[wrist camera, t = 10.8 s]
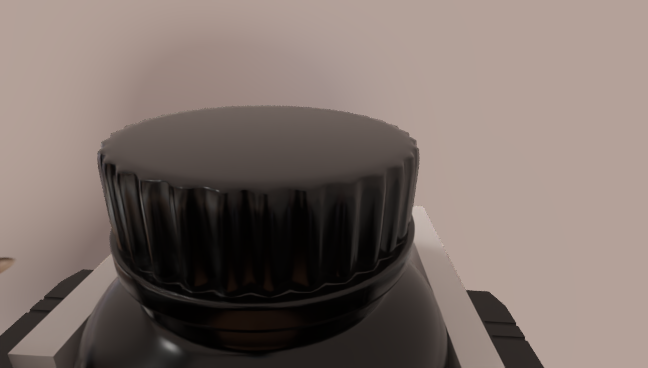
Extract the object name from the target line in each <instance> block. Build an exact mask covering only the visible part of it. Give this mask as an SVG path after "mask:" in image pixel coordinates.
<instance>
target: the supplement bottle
mask: <svg viewBox="0 0 648 368" xmlns="http://www.w3.org/2000/svg"><path fill="white" fill-rule="evenodd" d="M98 169H99V174H100V179H101V183H102V188H103V192H104V197H105V201H106V206H107V210H108V215H109V219H110V223H111V227H112V228H111V231H110V248H111V254H112V258H113V262H114V266H115V269H116V273H117V275H118V276H117V277H116V278H115V280H114V281H113V282H112V283H111V284H110V285H109V286H108V288H107V289H106V291H105V292H104V294H103V295H102V296H101V298H100V299H99V301H98V302H97V304H96V306H95V308H94V310H93V311H92V313H91V315H90V317H89V319H88V321H87V323H86V326H85V328H84V330H83V333H82V335H81V338H80V341H79V344H78V348H77V351H76V355H75V359H74V362H73V368H449V345H448V338H447V331H446V327H445V324H444V320H443V317H442V313H441V311H440V308H439V306H438V303H437V301H436V298H435V296H434V294H433V292H432V290H431V289H430V287H429V285H428V283H427V281H426V280H425V278H424V277H423V275H422V274H421V273H420V271H419V270H418V268H417V267H416V266H415V265H414V264H413V263H412V262H411V260H410V257H411V252H412V247H413V242H414V236H415V223H414V219H413V216H412V210H413V203H414V196H415V189H416V182H417V176H418V169H419V149H418V148H417V144H416V140H415V139H413V138H411V137H409V133H408V132H405V131H403V130H401V129H399V128H398V127H397V126H395V125H392V124H388V123H386V122H384V121H382V120H378V119H374V118H370V117H368V116H364V115H358V114H353V113H349V112H343V111H336V110H330V109H320V108H311V107H296V106H231V107H218V108H205V109H199V110H192V111H183V112H178V113H173V114H167V115H162V116H159V117H156V118H151V119H146V120H143V121H140V122H139V123H135V124H131V125H128V126H125V127H124V129H122V130H119V131H116V132H114V133H111V137H110V138H108V139H106V140H104V141H103V142H101V149H100V150H99V151H98Z"/></svg>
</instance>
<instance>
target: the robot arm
mask: <svg viewBox="0 0 648 368" xmlns="http://www.w3.org/2000/svg"><path fill="white" fill-rule="evenodd" d="M412 216H413V219H414V223H415V236H414V242H413V247H412V252H411V257H410V260H411V262H412V263H413V264H414V265H415V266H416V267H417V268H418V270H419V271H420V273H421V274H422V275H423V277H424V278H425V280H426V281H427V283H428V285H429V287H430V289H431V290H432V292H433V294H434V296H435V298H436V301H437V303H438V306H439V308H440V311H441V313H442V317H443V320H444V324H445V327H446V331H447V338H448V345H449V368H544V367H543V365H542V364H541V362H540V361H539V359H538V357H537V356H536V354H535V352H534V351H533V349H532V348H531V346H530V344H529V343H528V341H525V336H524V335H523V333H522V332H521V330H520V329H519V327H518V326H516V322H515V320H514V319H513V317H512V316H511V314H510V313H509V311H508V309H507V308H506V306H505V305H503V304H502V303H501V302H500V301H499V300H498V299H497V298H496V297H494V296H493V295H492V294H491V293H490V292H487V291H470V290H465V288H464V286H463V284H462V282H461V280H460V278H459V276H458V274H457V272H456V270H455V268H454V266H453V264H452V262H451V260H450V258H449V256H448V254H447V252H446V250H445V249H444V246H443V244H442V242H441V240H440V238H439V237H438V235H437V233H436V231H435V229H434V227H433V225H432V223H431V221H430V219H429V217H428V215H427V213H426V211H425V209H424V207H421V206H413V210H412ZM117 276H118V275H117V273H116V269H115V266H114V262H113V258H112V254H110V255H109V256H108V257H107V258H106V259H105V260H104V261H103V262H102V263H101V264H100V265H99V266H98V267H97V268H96V269H95V270H81V271H80V272H78V273H76V274H74V275H72V276H70V277H68V278H67V279H65V280H63V281H61V282H60V283H59V284H58V285H57V286H56V287H54V288H53V289H52V290H51V291H50V292H49V293H48V294H47V295H45V296H44V299H43V300H40V301H39V302H38V303H36V304H35V305H34V306H33V307H32V308H31V309H30V312H29V313H25V314H24V315H23V316H22V317H21V318H20V319H19V320H17V321H16V322H15V323H14V324H13V325H12V326H11V327H10V328H8V330H6V331H5V332H4V333H3V334H2V335H1V336H0V368H73V362H74V359H75V355H76V351H77V348H78V344H79V341H80V338H81V335H82V333H83V330H84V328H85V326H86V323H87V321H88V319H89V317H90V315H91V313H92V311H93V310H94V308H95V306H96V304H97V302H98V301H99V299H100V298H101V296H102V295H103V294H104V292H105V291H106V289H107V288H108V286H109V285H110V284H111V283H112V282H113V281H114V280H115V278H116V277H117Z"/></svg>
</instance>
